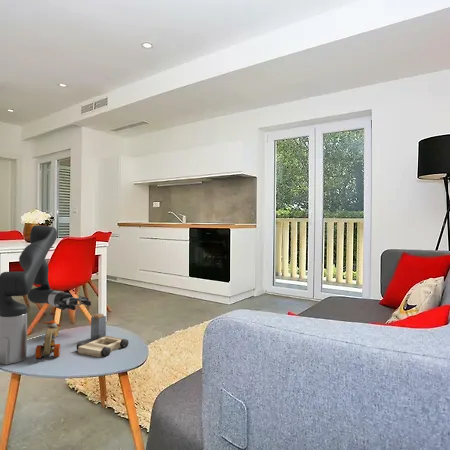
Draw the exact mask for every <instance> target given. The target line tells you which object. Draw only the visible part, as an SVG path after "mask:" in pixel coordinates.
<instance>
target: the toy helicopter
mask: <svg viewBox="0 0 450 450" xmlns="http://www.w3.org/2000/svg"><path fill="white" fill-rule="evenodd" d="M41 323H42V324H46V328H47V330H46V333H45V336H44V342H43V343H42V344H38V345H36V347H35V354H34V355H35V359H41V358H42V356H50V355H51V354H52V353H53V358H57V357H60V354H61V343H56V342H55V341H56V337H58V335H59V330H60V329H59V327H61V326H62V324H59V323H56V321H55V320H49V321H41Z"/></svg>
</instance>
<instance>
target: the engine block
mask: <svg viewBox="0 0 450 450" xmlns="http://www.w3.org/2000/svg"><path fill="white" fill-rule="evenodd" d="M106 332H107V316H105V314H104V313H96V314H93V316H91V318H90V341H91V340H92V341H94V340H96V338H97V336H98V335H103V336H104V337H105V336H107V333H106Z"/></svg>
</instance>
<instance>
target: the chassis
mask: <svg viewBox="0 0 450 450" xmlns="http://www.w3.org/2000/svg"><path fill="white" fill-rule="evenodd" d="M129 343H130V342H129V340H128V339H126V338H122V337H115V336H109V335H106V336H105V337H104V336H103V335H98V336H97V338H96V340H92V341H89V342H87V343H85V342H83V341H82V342H78V343H77V344H76V350H77V352H78V353H79V354H82V355H86V356H87V355H88V356H92V357H97V358H101V357H104V356H105V357H108V356H110V354H111V352H114V351H115V350H119V349H121V348H127V347H128V346H129Z"/></svg>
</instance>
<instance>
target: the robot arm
mask: <svg viewBox="0 0 450 450" xmlns="http://www.w3.org/2000/svg"><path fill="white" fill-rule="evenodd" d="M29 236H30V237H29V239H30V241H29V242H30V244H28V245H26V247H25V248H23V250H22V251H21V253H20V255H19V257H18V261H19V265H20V266H21V268H22V269H23V271H3V272H1V273H0V364H2V365H9V364H16V363H19V362H22V361H24V360H25V359H26V358H27V354H28V353H27V351H28V350H27V347H28V345H27V344H28V338H27V337H28V306H27V305H26V304H24V303H23V302H22V303H21V302H19V301H16V300H15V299H14V298H13V297H23V296H27V299H28V300H29V301H30V302H31V303H33V304H47V305H51V306H53V307H54V308H55V309H59V310H62V311H64V310H71V311H75V310H76V308H77V306H78V307H79V306H81V305H83V306H84V305H85V306H88V307H90V306H92V301H91V300H89V297H86V296H78V297H75V296H73V295H72V293H68V292H65V291H62V290H55V289H51V286H50V283H49V271H50V270H49V264H48V262H47V260H46V257H47V255H48V253H49V252H50V249H51V248H52V247H53V246H54V244H55V243H56V240H57V238H58V231H57V228H55V227H53V226H50V225H39V224H38V225H37V224H35V225H33V226H32V227H31V230H30V235H29ZM34 285H37V286H38V287H33V286H34ZM39 285H40V286H39Z"/></svg>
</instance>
